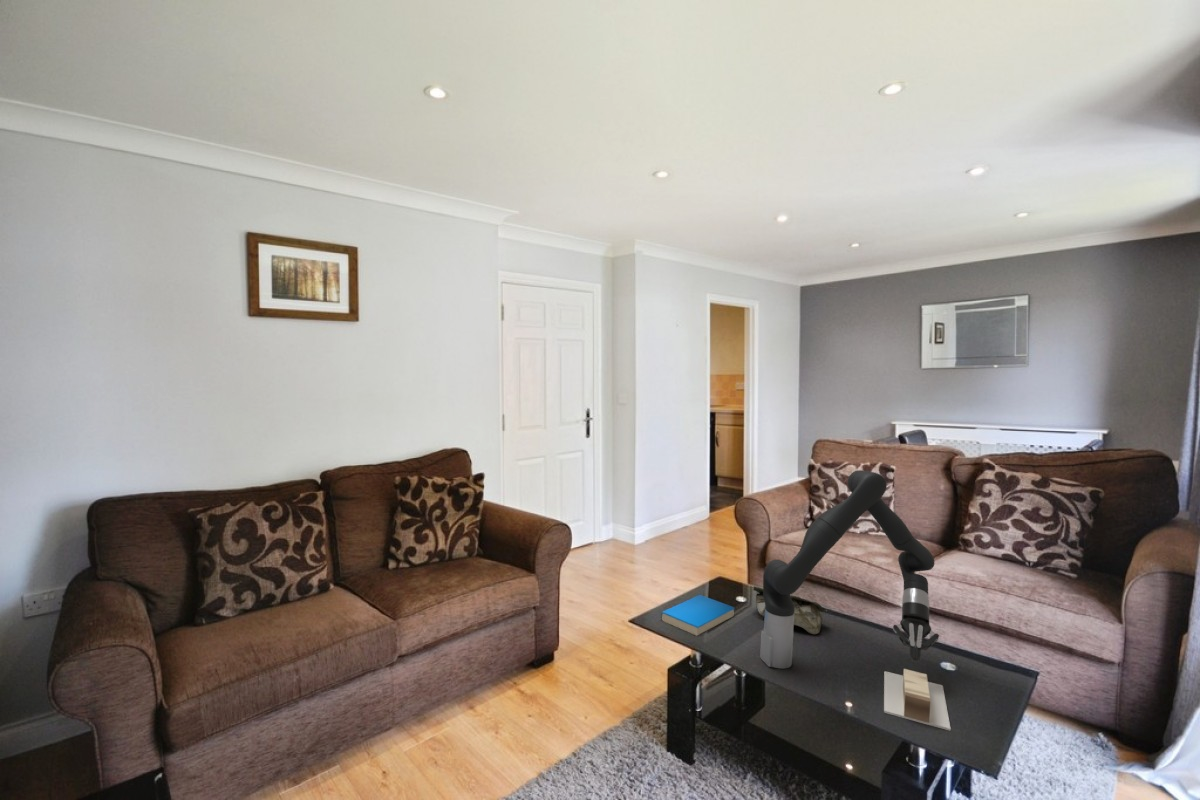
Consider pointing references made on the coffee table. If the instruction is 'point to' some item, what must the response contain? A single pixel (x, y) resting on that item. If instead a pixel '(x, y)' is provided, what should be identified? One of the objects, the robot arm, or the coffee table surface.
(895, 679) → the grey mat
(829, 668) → the coffee table surface
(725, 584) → the coffee table surface
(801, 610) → the weathered driftwood
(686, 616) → the book
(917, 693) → the maple block
